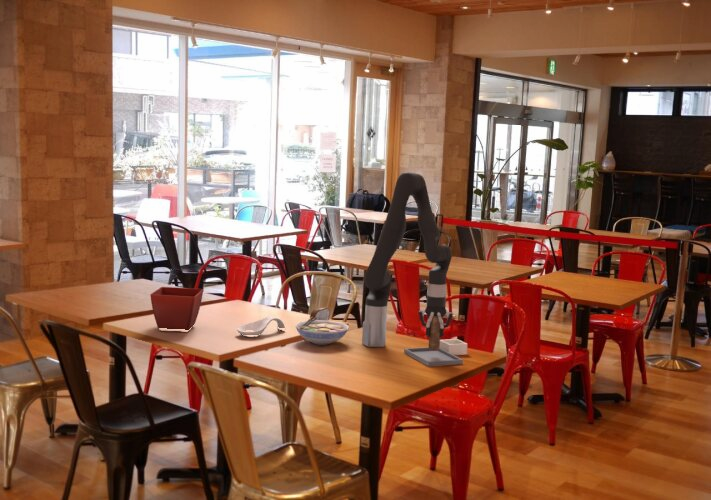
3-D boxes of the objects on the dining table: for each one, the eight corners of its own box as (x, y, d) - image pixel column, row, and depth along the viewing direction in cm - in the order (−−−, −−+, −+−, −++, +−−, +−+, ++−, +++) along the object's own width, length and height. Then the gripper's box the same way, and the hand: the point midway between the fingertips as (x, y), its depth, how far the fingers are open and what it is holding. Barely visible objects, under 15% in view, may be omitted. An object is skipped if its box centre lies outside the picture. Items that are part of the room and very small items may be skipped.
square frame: (448, 355, 328) (449, 344, 327) (438, 350, 336) (438, 339, 335) (466, 354, 331) (467, 343, 331) (456, 349, 339) (456, 338, 338)
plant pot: (193, 335, 343) (194, 296, 341) (149, 333, 343) (149, 294, 341) (203, 325, 362) (203, 288, 360) (160, 323, 362) (161, 286, 360)
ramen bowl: (341, 352, 325) (342, 332, 324) (287, 347, 329) (287, 327, 328) (353, 338, 349) (354, 320, 348) (303, 334, 354) (303, 316, 353)
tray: (428, 366, 309) (428, 361, 309) (404, 352, 329) (404, 348, 328) (462, 364, 315) (462, 359, 315) (436, 350, 335) (437, 346, 334)
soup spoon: (324, 322, 380) (325, 305, 379) (330, 323, 379) (331, 305, 378) (308, 328, 367) (309, 309, 366) (314, 329, 366) (315, 310, 365)
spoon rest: (248, 341, 338) (248, 324, 337) (231, 335, 346) (231, 319, 345) (290, 333, 355) (291, 317, 354) (273, 328, 363) (273, 313, 362)
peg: (432, 350, 319) (434, 316, 318) (428, 349, 322) (430, 314, 321) (439, 350, 321) (441, 316, 319) (435, 348, 324) (437, 314, 322)
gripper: (454, 294, 322) (452, 336, 324) (419, 292, 323) (417, 333, 325) (454, 297, 314) (452, 340, 316) (418, 295, 316) (416, 337, 318)
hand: (434, 336), depth 321 cm, fingers closed on peg, 4 cm apart
